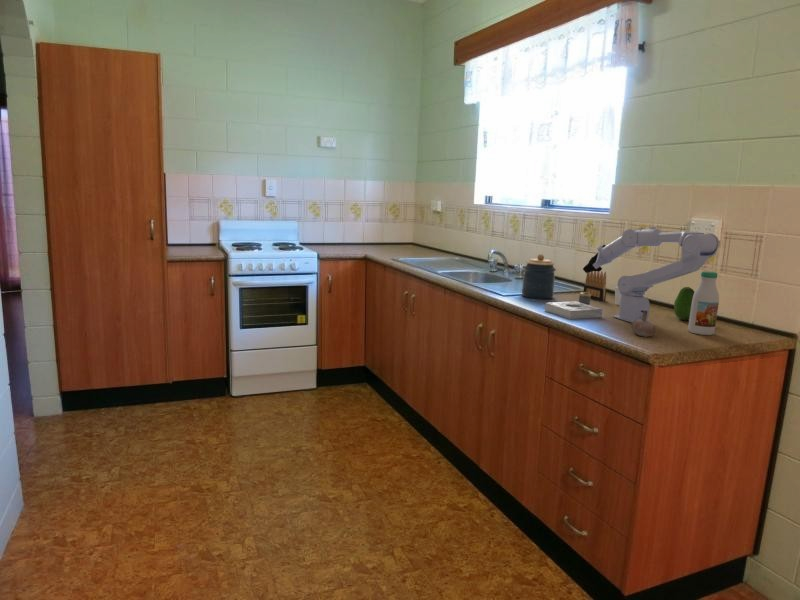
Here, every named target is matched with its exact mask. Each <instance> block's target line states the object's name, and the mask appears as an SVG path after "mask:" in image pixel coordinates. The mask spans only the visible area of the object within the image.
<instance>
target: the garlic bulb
mask: <svg viewBox="0 0 800 600" xmlns="http://www.w3.org/2000/svg"><path fill="white" fill-rule="evenodd" d="M646 316H647V310H645V311H644V312H643V317H642V320H635V321H634V322H633V323H632V322H631V329H632V331H633V332H634V333H636V335H638V336H640V337H644V338H645V337H646V338H648V337H652V336H654V335H655V334H656V327H655V325H654V324H653V323H652V322H650V321H649V322H647V321H646Z"/></svg>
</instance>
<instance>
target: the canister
mask: <svg viewBox="0 0 800 600" xmlns="http://www.w3.org/2000/svg"><path fill="white" fill-rule="evenodd" d="M554 265H555V263H554V262H553V261H552V260H550V259H547V258H545V256H544V255H543V254H542V253H540V254H538V255H537V257H536V258H529V259H528V260H527V261H526V265H525V266H524V267H523V269H524V274H523V275H522V279H523V280H522V288H521V295H522V297H525V298H529V299H536V300H549V299H550V300H551V299H553V297H554V295H555V294H554V293H555V291H554V290H555V279H556V276H555V272H556V270H557V268H555V267H554Z"/></svg>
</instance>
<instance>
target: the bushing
mask: <svg viewBox="0 0 800 600" xmlns="http://www.w3.org/2000/svg"><path fill="white" fill-rule="evenodd" d="M578 302H580V303H584V304H587V305H591V293H587V292H583V291H580V292H579V297H578Z"/></svg>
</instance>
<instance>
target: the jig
mask: <svg viewBox="0 0 800 600" xmlns="http://www.w3.org/2000/svg"><path fill="white" fill-rule="evenodd" d="M544 311H545V312H548V313H550V312H551V313H550V314H554V315H556V316H558V317H563V318H565V319H568V320H578V319H579V320H581V319H594V318H602V315H603V308H600V307H597V306H593V305H591V304H590V305H587V304H584V303H580V302H579V301H576V300H574V301H573V300H572V301H558V302H553V301H552V302H545V306H544Z"/></svg>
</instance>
